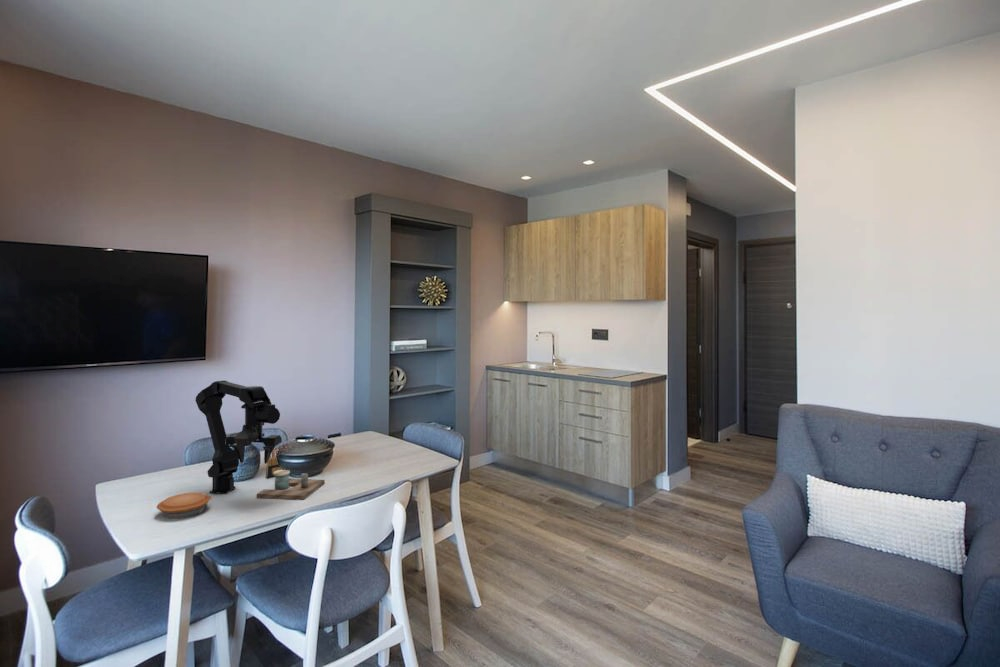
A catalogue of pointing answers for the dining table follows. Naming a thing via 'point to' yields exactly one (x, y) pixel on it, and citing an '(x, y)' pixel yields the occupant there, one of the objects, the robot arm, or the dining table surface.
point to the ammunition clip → (272, 464)
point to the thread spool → (282, 480)
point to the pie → (183, 505)
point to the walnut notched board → (294, 489)
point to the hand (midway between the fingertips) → (253, 463)
